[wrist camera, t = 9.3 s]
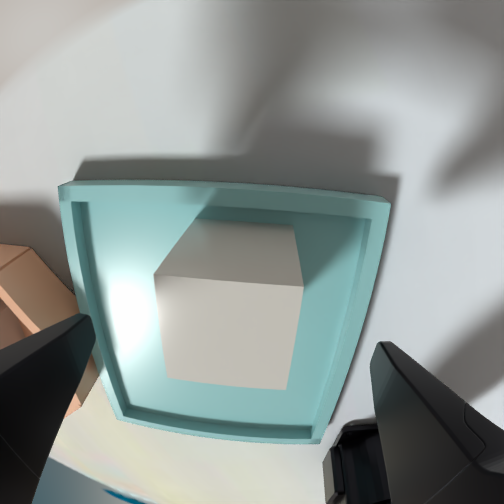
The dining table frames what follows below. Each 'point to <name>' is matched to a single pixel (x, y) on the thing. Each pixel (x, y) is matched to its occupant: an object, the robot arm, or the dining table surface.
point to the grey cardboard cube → (230, 303)
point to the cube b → (9, 326)
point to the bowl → (40, 302)
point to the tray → (145, 308)
